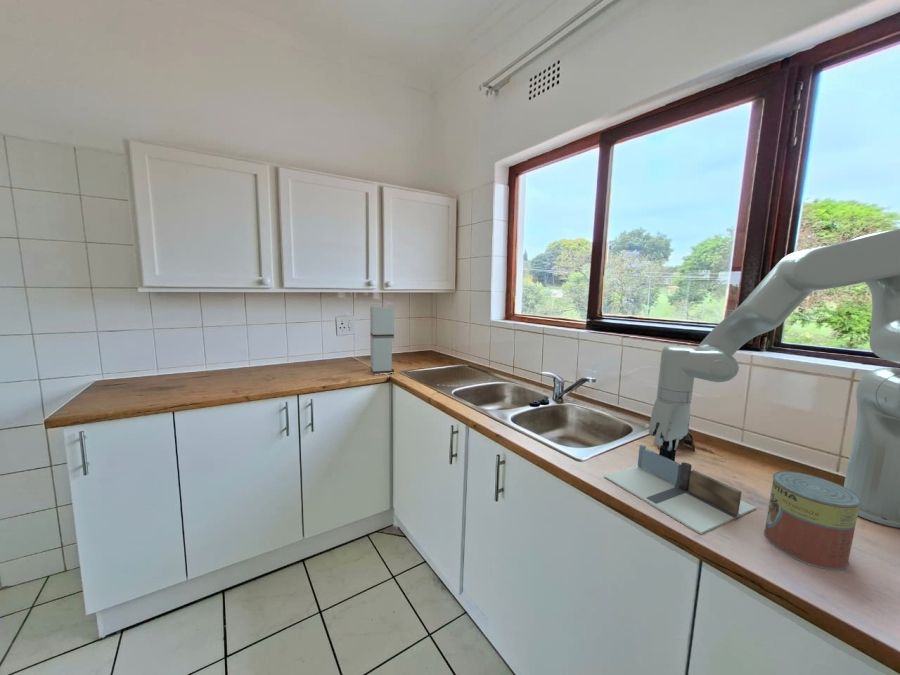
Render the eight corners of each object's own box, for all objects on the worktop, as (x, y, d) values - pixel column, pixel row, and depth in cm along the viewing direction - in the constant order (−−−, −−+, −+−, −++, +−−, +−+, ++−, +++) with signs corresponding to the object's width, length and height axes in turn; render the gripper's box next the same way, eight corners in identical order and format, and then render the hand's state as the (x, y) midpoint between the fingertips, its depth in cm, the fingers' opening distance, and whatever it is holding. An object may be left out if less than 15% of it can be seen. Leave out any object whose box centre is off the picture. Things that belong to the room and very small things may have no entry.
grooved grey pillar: (393, 374, 189) (393, 307, 184) (373, 375, 186) (372, 307, 181) (390, 369, 200) (390, 306, 195) (370, 370, 196) (370, 306, 191)
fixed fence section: (739, 516, 76) (743, 487, 75) (733, 519, 75) (738, 489, 74) (681, 487, 86) (684, 461, 85) (676, 489, 85) (679, 463, 84)
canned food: (757, 519, 75) (766, 465, 73) (833, 540, 69) (844, 481, 67) (772, 553, 65) (782, 492, 63) (861, 580, 59) (875, 513, 58)
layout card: (756, 509, 78) (757, 507, 78) (701, 535, 70) (702, 532, 69) (656, 461, 99) (656, 460, 99) (603, 477, 90) (604, 475, 90)
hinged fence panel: (679, 483, 86) (682, 462, 86) (675, 485, 86) (678, 463, 85) (639, 464, 96) (642, 444, 95) (636, 465, 95) (638, 445, 94)
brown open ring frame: (703, 457, 103) (695, 435, 101) (668, 466, 106) (659, 444, 104) (686, 431, 114) (678, 411, 112) (654, 440, 117) (646, 420, 115)
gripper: (676, 387, 98) (669, 451, 101) (641, 394, 91) (634, 462, 94) (706, 395, 92) (697, 463, 94) (671, 403, 85) (662, 475, 87)
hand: (666, 462), depth 94 cm, fingers closed
